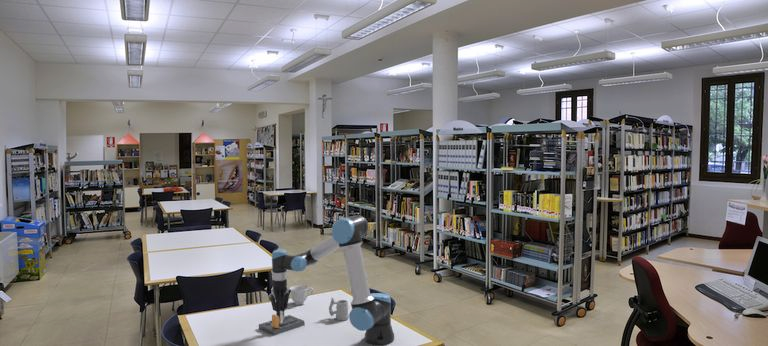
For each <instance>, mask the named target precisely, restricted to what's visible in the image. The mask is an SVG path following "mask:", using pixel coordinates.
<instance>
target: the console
mask: <svg viewBox="0 0 768 346" xmlns="http://www.w3.org/2000/svg"><path fill="white" fill-rule="evenodd" d="M304 326H305V320H304V319H301V318H298V317H296V316H293V315H290V314H288V315H284V320H283V323H281V324H280V323H279V327H278V328H275V327H272V320H269V321H266V322H262V323H259V324H258V330H260V331H262V332H264V333H266V334H268V335H271V336H273V337H274V336H277V335H281V334H282V333H283V334H284V333H286V332H289V331H291V330H294V329H298V328H300V327H304Z"/></svg>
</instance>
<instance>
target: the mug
mask: <svg viewBox="0 0 768 346" xmlns="http://www.w3.org/2000/svg"><path fill="white" fill-rule="evenodd" d="M334 305H336V307H335V309H336V310H335V311H334V310H333V306H334ZM349 306H350V305H349V301H348V300H347V299H346V300H345V299H339V300H337V301H335V299H334V297H331V301H330V304H329V306H328V311H329V312H328V313H329V315H330V316H331V317H333V316H334V315H335V318H336V320H337V321H340V322H341V321H347V320H350V319H349V314H350V313H349V308H350V307H349Z"/></svg>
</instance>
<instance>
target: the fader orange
mask: <svg viewBox="0 0 768 346" xmlns="http://www.w3.org/2000/svg"><path fill="white" fill-rule="evenodd" d="M271 321H272V327H275V328H278V327H279V316H277V315H276V314H274V313H273V314H272V315H271Z"/></svg>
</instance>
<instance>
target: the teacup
mask: <svg viewBox="0 0 768 346" xmlns="http://www.w3.org/2000/svg"><path fill="white" fill-rule="evenodd" d="M289 290H291V292H290V296H291V300H292V302H294V304H295V305H297V306H301V305H304V303H305V302H306V301H307V298H308V297H309V296H312V294H314V288H313V287H309V286H308V285H306V284H305V285H303V284H302V285H301V284H298V285H292V286H290V287H289ZM310 290H311V292H310ZM308 292H310V293H308Z"/></svg>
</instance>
